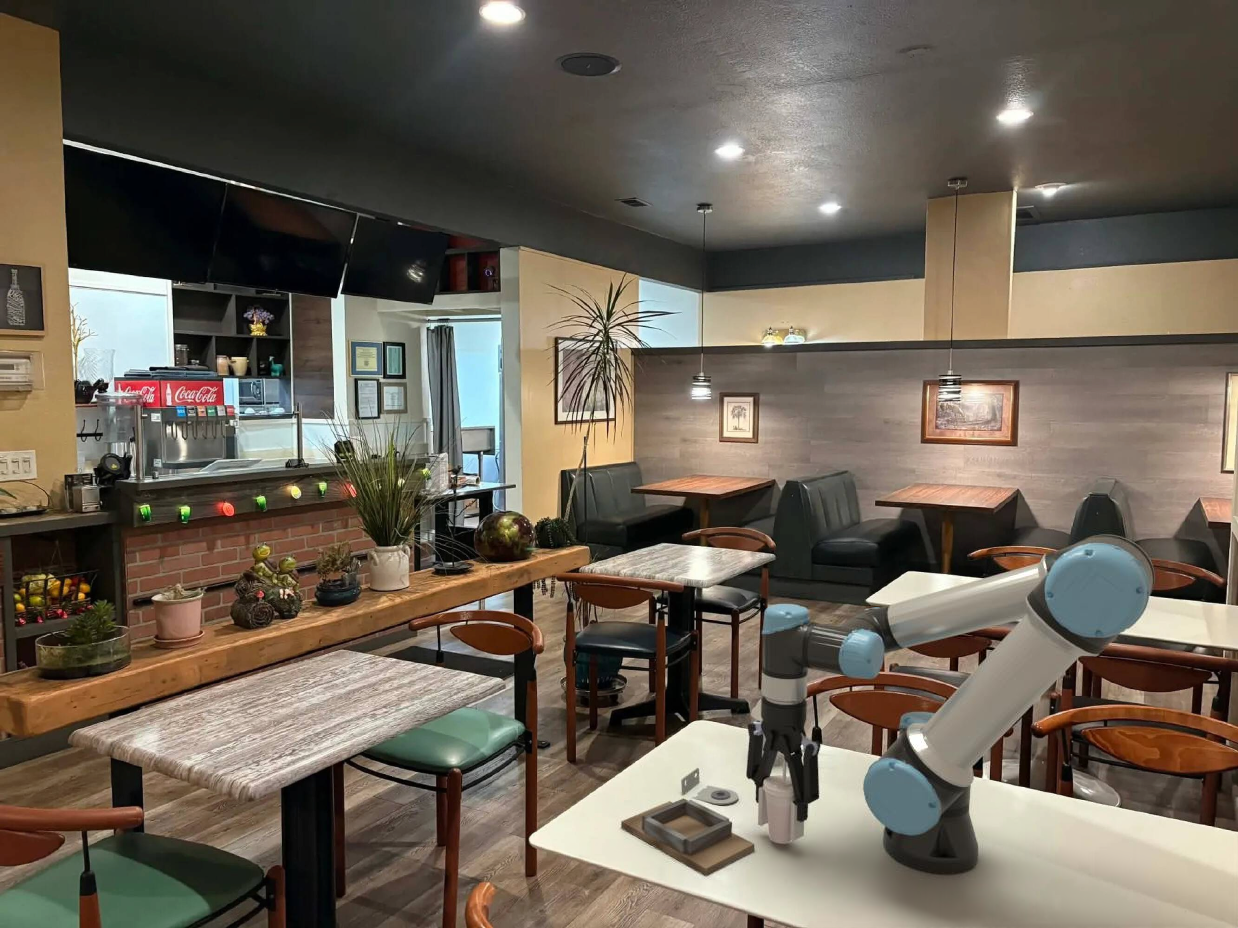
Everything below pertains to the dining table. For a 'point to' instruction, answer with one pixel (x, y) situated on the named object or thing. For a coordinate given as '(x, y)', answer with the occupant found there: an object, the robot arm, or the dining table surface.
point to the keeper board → (690, 835)
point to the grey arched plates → (708, 791)
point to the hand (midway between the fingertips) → (780, 829)
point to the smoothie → (779, 806)
